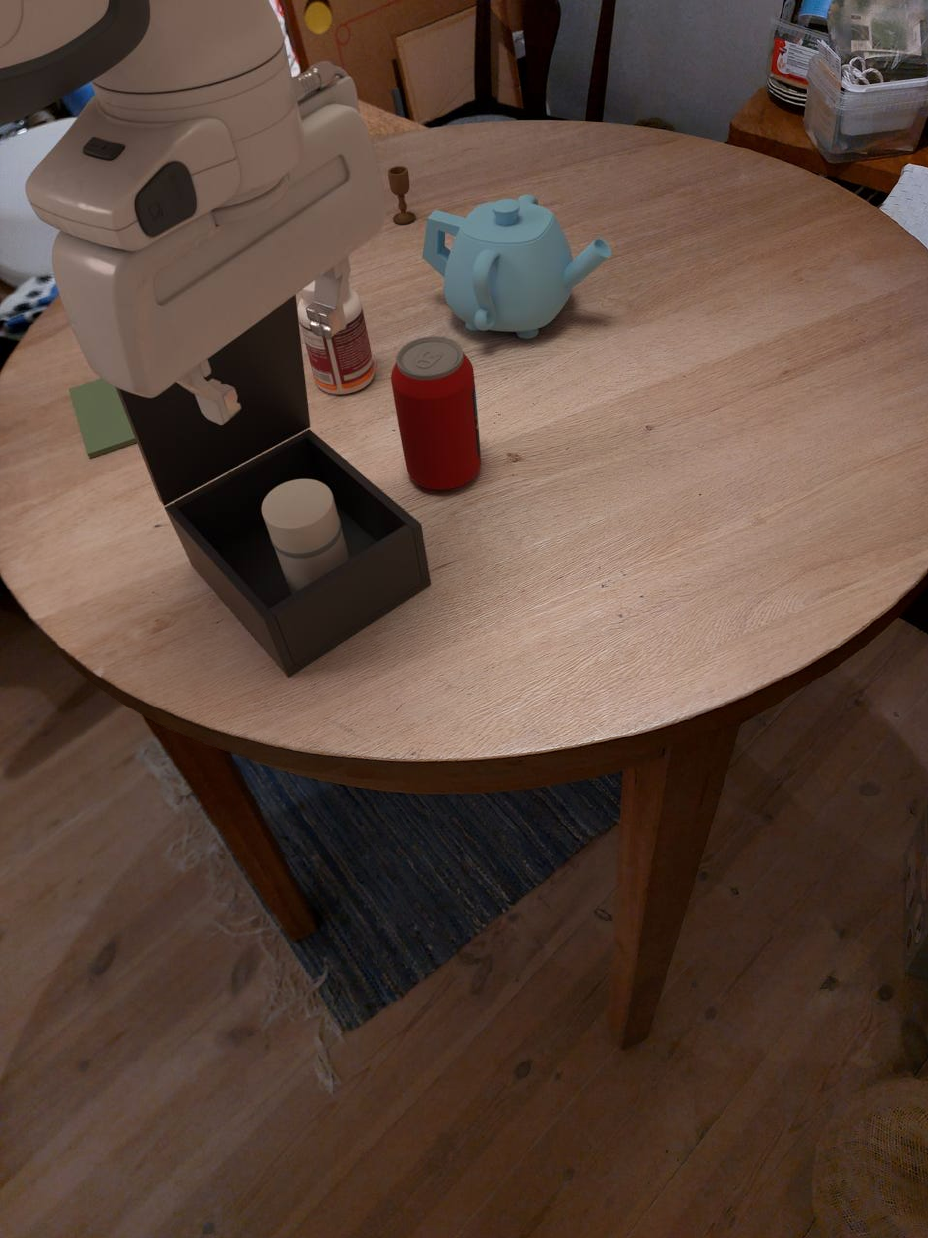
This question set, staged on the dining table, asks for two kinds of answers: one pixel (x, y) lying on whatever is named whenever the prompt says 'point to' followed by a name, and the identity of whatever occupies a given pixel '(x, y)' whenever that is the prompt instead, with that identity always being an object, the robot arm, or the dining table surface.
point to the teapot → (507, 264)
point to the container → (304, 530)
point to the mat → (101, 417)
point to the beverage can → (437, 412)
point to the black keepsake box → (250, 569)
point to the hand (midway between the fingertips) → (279, 371)
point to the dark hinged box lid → (270, 414)
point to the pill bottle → (339, 347)
